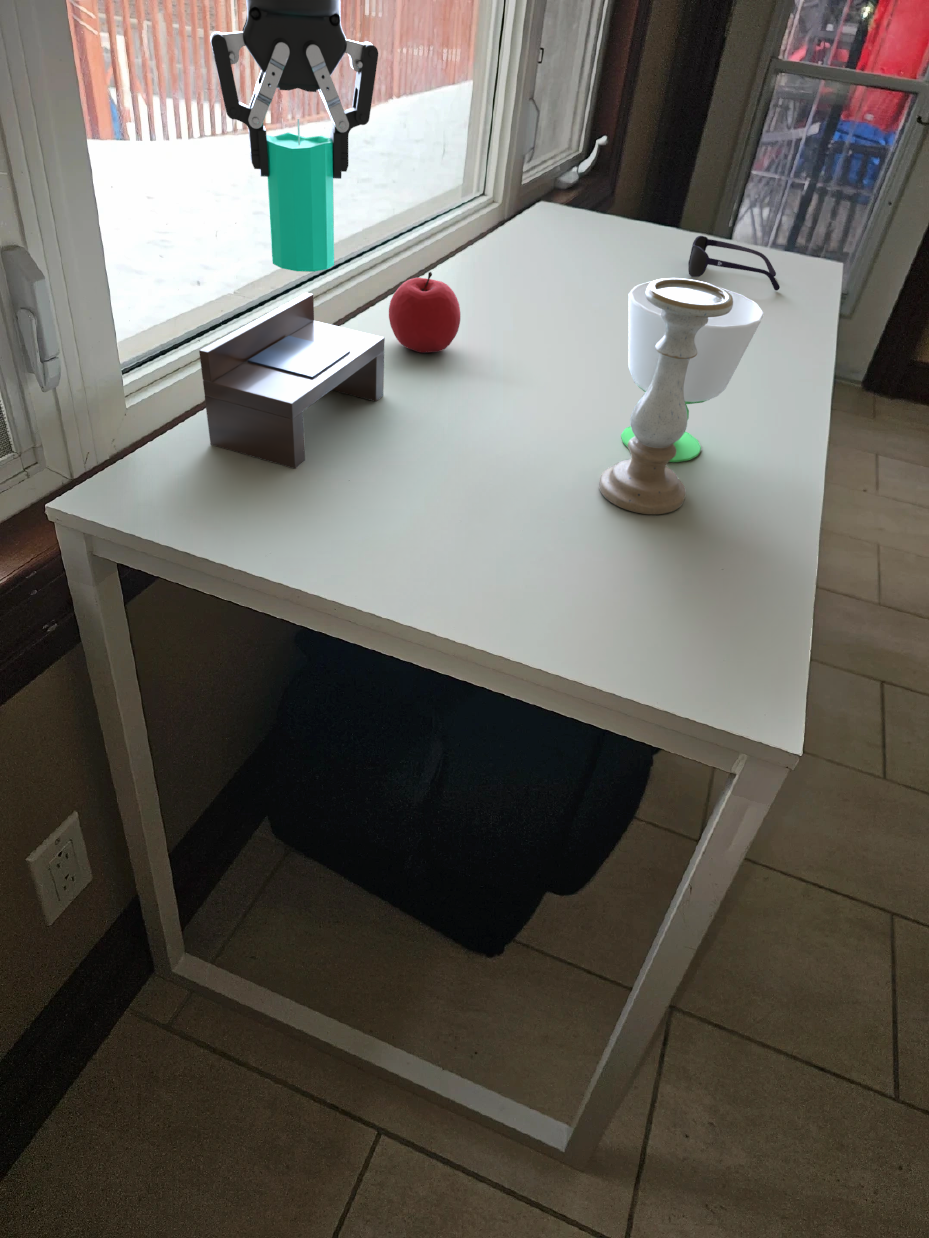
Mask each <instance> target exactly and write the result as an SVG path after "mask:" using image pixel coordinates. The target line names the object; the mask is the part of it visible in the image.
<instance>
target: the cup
mask: <svg viewBox="0 0 929 1238" xmlns="http://www.w3.org/2000/svg"><path fill="white" fill-rule="evenodd" d="M653 281H654V280H650V281H647V282H643V283H640V284H635V286H633V288H632V289H631V290H630V291H629V292H628V300H627V301H628V302H627V303H628V306H627V307H628V313H627V314H628V315H627V316H628V323H627V324H628V325H627V326H628V328H627V329H628V330H627V335H628V336H627V348H628V349H627V352H628V353H627V359H628V360H627V367H628V370H629V372H630V376H631V378H632V380H633V383H634V384H635V385H636V386H637V387H638V389H640V390H641V391H643V392H644V393H645V392H646V391H647V389H648V388H649V386H650V384H651V382H652V380H653V377H654V374H655V371H656V367H657V363H658V359H659V352H658V351H657V350H656V348H655V345H656V344H657V343H658V342H659V341H660V340H661V338H662V337H663V336H664V334H665V331H666V326H665V322H664V320H663V319H662V317H661V311H662V309H660V308H658V307H656V306H654V305H653V304H651V303H650V302H649V301H648V300H647V299H646V296H645V293H646V289H647V287H648V286H649V284H650V283H651V282H653ZM719 287H720V288H722V289H724V290H726V291H727V292H729V293H730V294H731V296H732V298H733V307H732V309H731V311H730V312H729V313H727V314H725V315H722V316H718V317H709V319H708V322H707V324H706V325H705V326H703V327H702V328H700V329H699V330H698V332H697V333H696V335H695V339H694V341H695V345H696V348H697V355H696V356H695V357H694V358H690V361H689V364H688V367H687V372H686V376H685V381H684V399H685V404H686V409H687V422H689V421H688V420H689V418H690V417H689V416H690V410H689V408H688V405H692V404H701V403H704V402H707V401H710V400H712V399H715V398H716V397H718V396H720V394H722V393H723V392H724V391H725V390H726V389H727V387H728V385H729V384H730V381H731V379H732V377H733V375H734V374H735V371H736V370H737V368H738V366H739V364H740V362H741V361H742V358H743V356H744V354H745V352H746V351H747V349H748V347H749V345H750V343H751V341H752V340H753V337H754V335H755V333H756V332H757V330H758V328H759V327H760V324H761V322H762V320H763V318H764V315H765V312H764V311H763V310H762V308H761V307H760V306H759V304H758V303H757V302H756V301H754V300H753V299H751V298H748V296H747V297H746V296H745V295H743V294H742V293H739V292H735V291H732V290H729V289H727V288H724V287H721V286H719ZM633 437H635V435H634V433H633V431H632V429H631V425H629V426H628V427H626V428H624V429H623V431H622V432H621V434H620V438H621V440H622V444H623V445H624V446H626V447H627V448H628V442H629V440H630V439H631V438H633ZM673 444H674V446H675V447H676V455H675V457H674V458H672V459H671V460H670V461H669V462H668V463H681V462H687V461H690V460H693V459H694V458H696V457H698V456H699V454H700V452H701V450H702V446H701V444H700V441H699V440H698V439H697V438H696V437H695V436H693V435H692V434H691V433H690V432H687V431H685V432H684V434H683V436H682V437H681V438H680V439H679V440H678V441H676V442H675V443H673Z"/></svg>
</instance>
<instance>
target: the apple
mask: <svg viewBox="0 0 929 1238" xmlns="http://www.w3.org/2000/svg"><path fill="white" fill-rule="evenodd" d="M432 276H433V273H432V271H428V276H427V278H426V277H425V278H424V277H413V278H410V279H407V280H405V281H404V282H403V283H402V284H401V285H399V287H398V288H397V289H396V290H395V292H393V295H392V297H391V299H390V301H389V306H388V320H389V325H390V328H391V330H392V333H393V335H394V337H395V339H396V340H397V341H398V342H399V343H400V344H401V346H403V347H405V348H406V349H409V350H412V351H414V352H416V353H420V354H422V353H423V354H424V353H439V352H441V351H443V350H445V349H447V348H448V347H449V346H450V345H451V343H452V342H453V341H454V339H455V338H456V337H457V334H458V333H459V329H460V325H461V307H460V303H459V300H458V297H457V296H456V293H455V292H454V290H453V289H452V288H451V287H450V285H449V284H447V283H446V282H443V281H441V280H437V279H432V278H431V277H432Z"/></svg>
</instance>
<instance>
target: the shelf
mask: <svg viewBox="0 0 929 1238" xmlns="http://www.w3.org/2000/svg"><path fill="white" fill-rule="evenodd" d="M314 301H315V300H314V294H313V293H309V292H304V293H302V294H301V295H299V296H297V297H295V298H293V299H291V300H290V301H287V302H286V303H284V304H281V305H280V306H278V307H276V308H274V309H273V310H271V311H269V312H267V313H265V314H263V315H262V316H260V317H258V318H256V319H254V320H253V321H251V322H249V323H246V324H245V325H243V326H241V327H239V328H237V329H236V330H234V331H232V332H231V333H228V334H227V335H225V336H223V337H221V338H220V339H217V340H215V341H214V342H212V343H210V344H208V345H206V346H204V347H202V348H201V349H199V351H198V353H199V363H200V368H201V375H202V376H201V377H202V386H203V394H204V401H205V402H204V403H205V410H206V411H205V413H206V419H207V427H208V436H209V443H210V445H211V446H214V447H218V448H221V449H225V450H229V451H232V452H235V453H239V454H242V455H245V456H249V457H252V458H257V459H260V460H263V461H266V462H270V463H274V464H277V465H280V466H284V467H288V468H290V469H297V468H298V467H299V466H301V465H302V464H303V463H304V462H306V445H305V443H306V442H305V422H304V421H305V420H304V411H305V410H307V409H308V408H310V407H311V406H312V405H314V404H315V403H316V402H317V401H319V400H320V399H321V398H323V397H324V396H326V395H327V394H329V392H331V391H334V392H337V393H341V394H345V395H348V396H349V395H350V396H352V397H357V398H360V399H364V400H368V401H372V402H378V401H379V400H380V399H381V398H382V397H384V389H385V387H384V386H385V385H384V384H385V383H384V382H385V337H384V336H381V335H376V334H372V333H368V332H363V331H360V330H355V329H351V328H347V327H342V326H338V325H334V324H330V323H326V322H321V321H318V320H315V307H314V305H315V304H314Z"/></svg>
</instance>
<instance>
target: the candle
mask: <svg viewBox="0 0 929 1238" xmlns="http://www.w3.org/2000/svg"><path fill="white" fill-rule="evenodd" d="M296 120H297V134H295V133H292V132H284V133H281V134H277V135H274V136H272V135H268V134H266V137H267V154H268V171H269V177H267V191H268V192H267V193H268V210H269V211H268V213H269V229H270V245H271V260H272V261H271V262H272V264H273V265H274V266H277V267H278V268H280V269H283V270H287V271H293V272H305V273H306V272H307V273H308V272H310V273H311V272H312V273H313V272H319V271H325V270H326V271H327V270H329V269H331V268H332V267H334V266H335V226H334V225H335V221H334V220H335V219H334V218H335V216H334V211H335V210H334V209H335V208H334V178H333V142H332V140H331V138H330V137H329V136H328V137H327V136H323V135H315V136H301V134H300V133H301V131H300V118H297V119H296Z"/></svg>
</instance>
